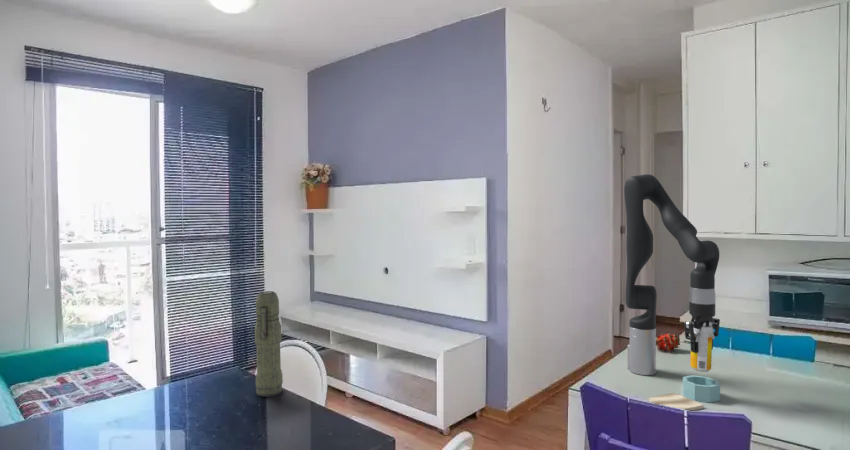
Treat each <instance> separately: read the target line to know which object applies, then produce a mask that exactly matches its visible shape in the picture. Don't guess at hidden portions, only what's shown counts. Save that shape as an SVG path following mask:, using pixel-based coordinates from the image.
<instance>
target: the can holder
mask: <svg viewBox="0 0 850 450" xmlns="http://www.w3.org/2000/svg"><path fill="white" fill-rule="evenodd" d="M682 396H683V397H686V398H688V399H690V400H693V401H695V402H702V403H703V402H704V403H715V402H719V401H721V384H720V382H719V381H718V380H717V379H714V378H710V377H708V376H704V375H703V376H701V375H693V374H692V375H691V374H690V375H686V376H682Z"/></svg>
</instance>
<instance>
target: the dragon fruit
mask: <svg viewBox="0 0 850 450" xmlns="http://www.w3.org/2000/svg"><path fill="white" fill-rule="evenodd" d="M680 339H681V338H679V336H678V335H677V334H671V333H670V332H667V333H665V332H662V333H661V334H659V335H656V350H658V351H662V352H663V351H668V352H669V353H671V352H673V351H675V350H676V349H679V348H680V345H681V343H680V342H681V340H680Z"/></svg>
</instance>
